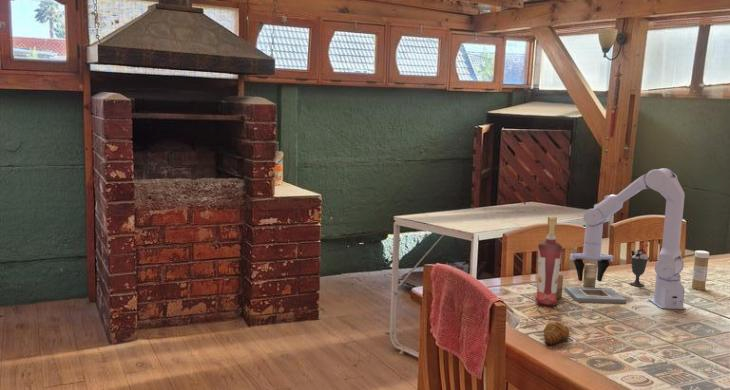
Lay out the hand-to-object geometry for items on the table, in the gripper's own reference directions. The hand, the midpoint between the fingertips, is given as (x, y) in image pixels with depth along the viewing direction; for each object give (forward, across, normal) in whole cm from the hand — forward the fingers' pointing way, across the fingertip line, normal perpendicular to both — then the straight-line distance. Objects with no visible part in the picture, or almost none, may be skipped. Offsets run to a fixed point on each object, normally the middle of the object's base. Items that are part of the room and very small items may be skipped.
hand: (589, 280), depth 224 cm
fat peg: (+2, +17, +11) cm, 20 cm away
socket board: (+2, +2, +11) cm, 11 cm away
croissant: (+3, +27, +52) cm, 59 cm away
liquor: (+3, +21, +21) cm, 30 cm away
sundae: (+3, -19, -5) cm, 20 cm away
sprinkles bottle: (+3, -40, -3) cm, 40 cm away
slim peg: (+2, 0, 0) cm, 2 cm away
